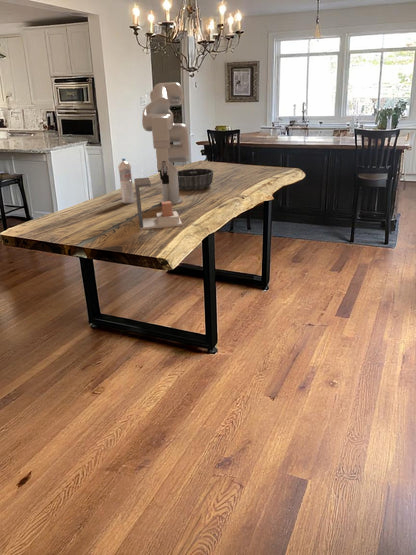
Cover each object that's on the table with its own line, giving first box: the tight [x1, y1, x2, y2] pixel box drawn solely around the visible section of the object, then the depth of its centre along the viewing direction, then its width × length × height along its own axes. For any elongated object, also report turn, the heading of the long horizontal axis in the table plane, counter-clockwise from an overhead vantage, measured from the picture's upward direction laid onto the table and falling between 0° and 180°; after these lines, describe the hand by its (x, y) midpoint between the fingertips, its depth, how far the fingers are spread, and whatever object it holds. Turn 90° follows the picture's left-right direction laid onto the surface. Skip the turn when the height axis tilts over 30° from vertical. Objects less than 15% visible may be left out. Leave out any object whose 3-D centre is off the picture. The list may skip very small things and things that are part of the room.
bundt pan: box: [177, 168, 215, 191], centre depth 295 cm, size 26×26×10 cm
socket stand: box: [138, 210, 183, 231], centre depth 226 cm, size 15×20×4 cm
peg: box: [160, 201, 173, 217], centre depth 225 cm, size 4×4×9 cm
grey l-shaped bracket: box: [133, 177, 152, 229], centre depth 221 cm, size 15×7×20 cm, turn 10°
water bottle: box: [118, 158, 135, 205], centre depth 263 cm, size 7×7×25 cm
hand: (164, 181), depth 220 cm, fingers open, 9 cm apart
